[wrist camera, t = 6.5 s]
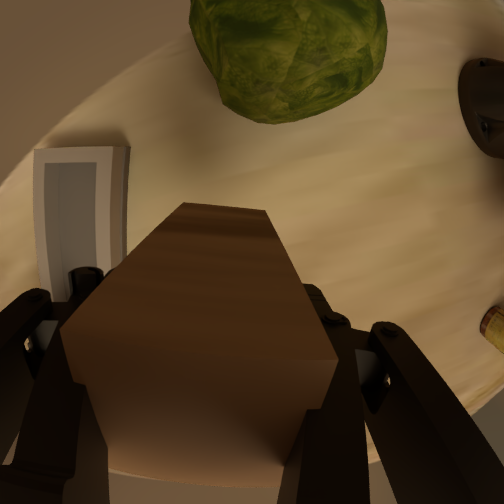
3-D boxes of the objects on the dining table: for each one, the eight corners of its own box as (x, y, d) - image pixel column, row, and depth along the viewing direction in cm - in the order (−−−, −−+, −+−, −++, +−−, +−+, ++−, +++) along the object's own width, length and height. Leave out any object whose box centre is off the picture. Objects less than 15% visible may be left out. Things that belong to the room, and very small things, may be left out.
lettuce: (310, -20, 24) (300, -107, 10) (400, 105, 24) (458, 19, 10) (192, 21, 28) (136, -56, 13) (254, 158, 28) (198, 90, 13)
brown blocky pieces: (54, 148, 27) (-42, 156, 12) (130, 147, 28) (49, 145, 13) (75, 364, 36) (33, 439, 21) (136, 376, 37) (108, 464, 22)
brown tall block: (183, 202, 18) (59, 329, 4) (265, 210, 18) (338, 359, 5) (178, 311, 20) (125, 498, 7) (250, 317, 20) (270, 513, 7)
